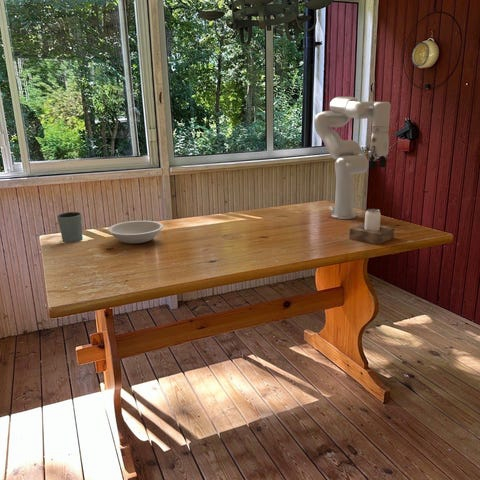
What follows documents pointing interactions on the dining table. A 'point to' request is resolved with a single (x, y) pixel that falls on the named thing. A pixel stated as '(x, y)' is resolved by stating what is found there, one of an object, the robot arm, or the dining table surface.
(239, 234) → the dining table surface
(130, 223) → the soup bowl
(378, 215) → the can
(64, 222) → the grey green cup
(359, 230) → the socket block
